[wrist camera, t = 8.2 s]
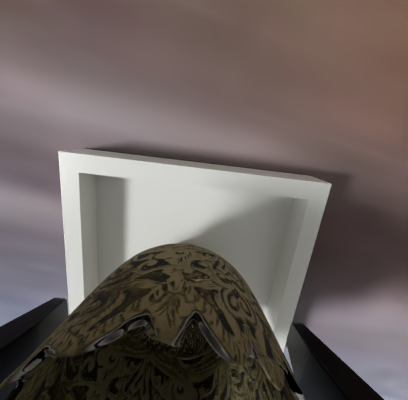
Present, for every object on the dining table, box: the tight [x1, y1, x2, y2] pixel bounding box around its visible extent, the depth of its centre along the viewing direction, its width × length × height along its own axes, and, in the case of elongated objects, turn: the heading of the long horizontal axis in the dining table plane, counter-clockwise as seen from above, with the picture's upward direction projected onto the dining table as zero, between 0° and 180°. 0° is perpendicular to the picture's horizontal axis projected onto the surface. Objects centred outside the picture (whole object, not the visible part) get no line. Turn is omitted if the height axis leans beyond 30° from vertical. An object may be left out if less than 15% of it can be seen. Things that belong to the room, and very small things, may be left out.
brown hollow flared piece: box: [0, 243, 307, 400], centre depth 8 cm, size 8×7×8 cm
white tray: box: [58, 149, 332, 351], centre depth 12 cm, size 12×12×2 cm
